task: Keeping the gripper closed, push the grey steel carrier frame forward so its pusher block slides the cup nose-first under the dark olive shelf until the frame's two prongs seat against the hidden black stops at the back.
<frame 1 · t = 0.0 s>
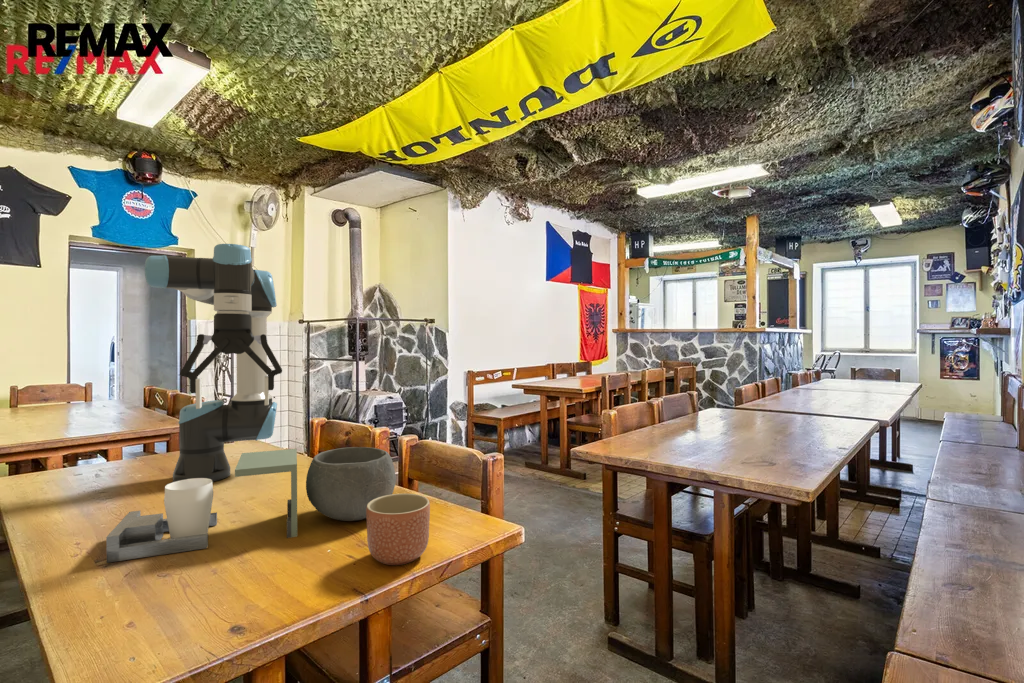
hand: (233, 406, 115), 28 cm above the table, fingers open, 13 cm apart
planter: (398, 558, 101), on the table
bowl: (352, 515, 124), on the table
cup: (189, 539, 109), on the table
shelf: (266, 528, 115), on the table
frame: (167, 529, 108), point 3 cm above the table, slide at 0.0 cm
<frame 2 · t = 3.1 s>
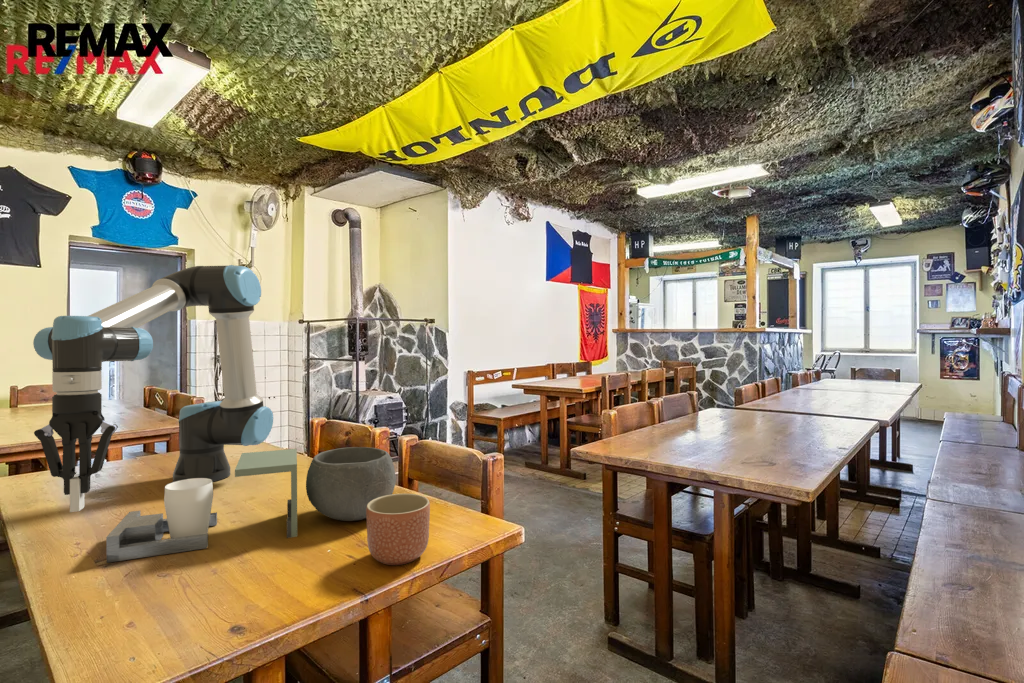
hand: (77, 509, 101), 9 cm above the table, fingers closed
nothing on the table moved.
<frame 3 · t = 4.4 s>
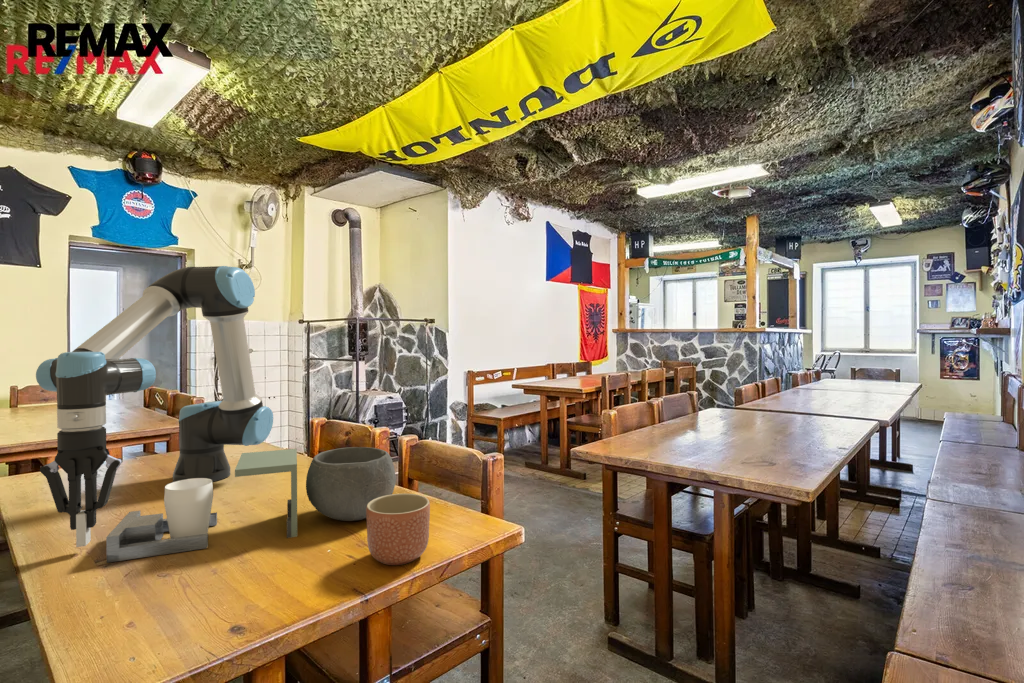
hand: (83, 543, 102), 2 cm above the table, fingers closed
nothing on the table moved.
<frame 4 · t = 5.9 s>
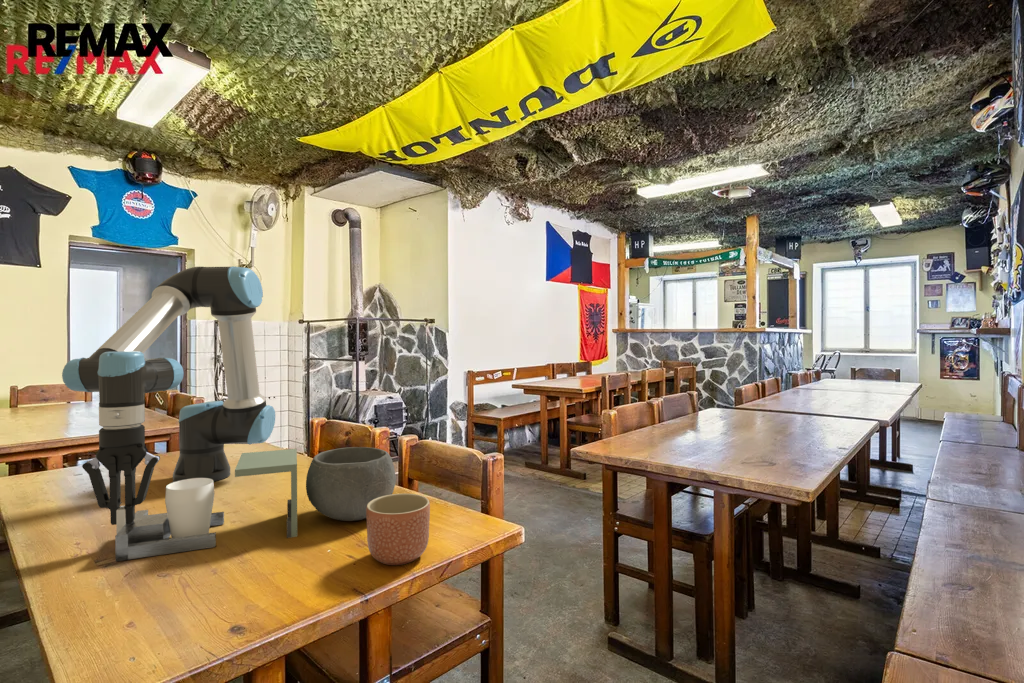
hand: (123, 538, 105), 2 cm above the table, fingers closed
cup: (190, 539, 109), on the table, touching frame
frame: (174, 528, 108), point 3 cm above the table, slide at 1.4 cm, touching cup, gripper
everything else where it was.
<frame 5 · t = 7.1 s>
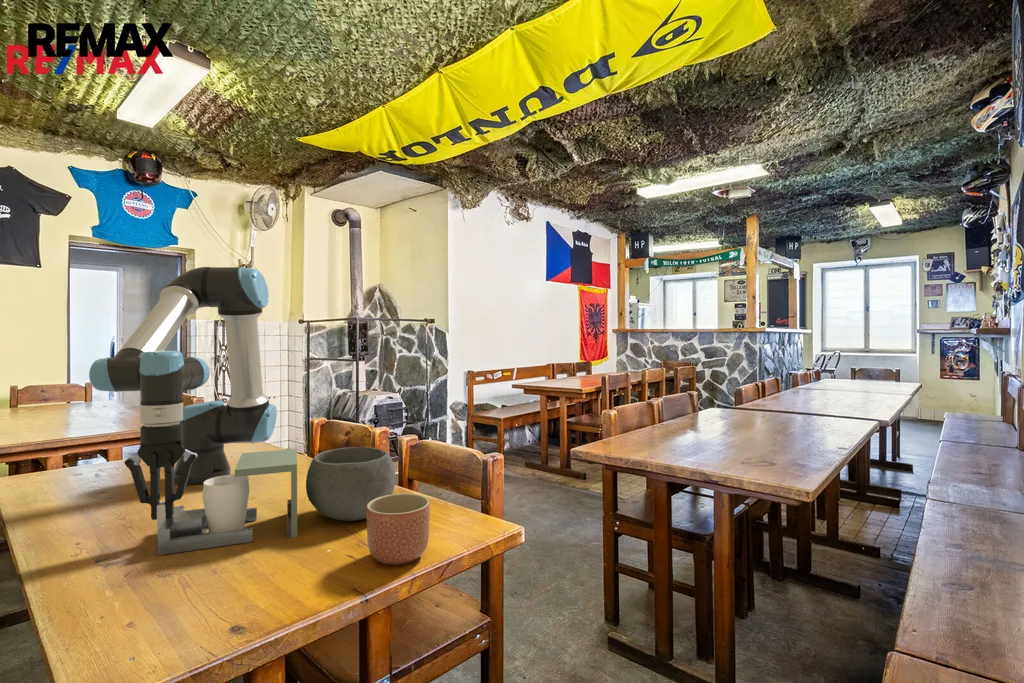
hand: (162, 533, 107), 2 cm above the table, fingers closed
cup: (226, 534, 112), on the table, touching frame
frame: (211, 523, 111), point 3 cm above the table, slide at 8.3 cm, touching cup, gripper
everything else where it was.
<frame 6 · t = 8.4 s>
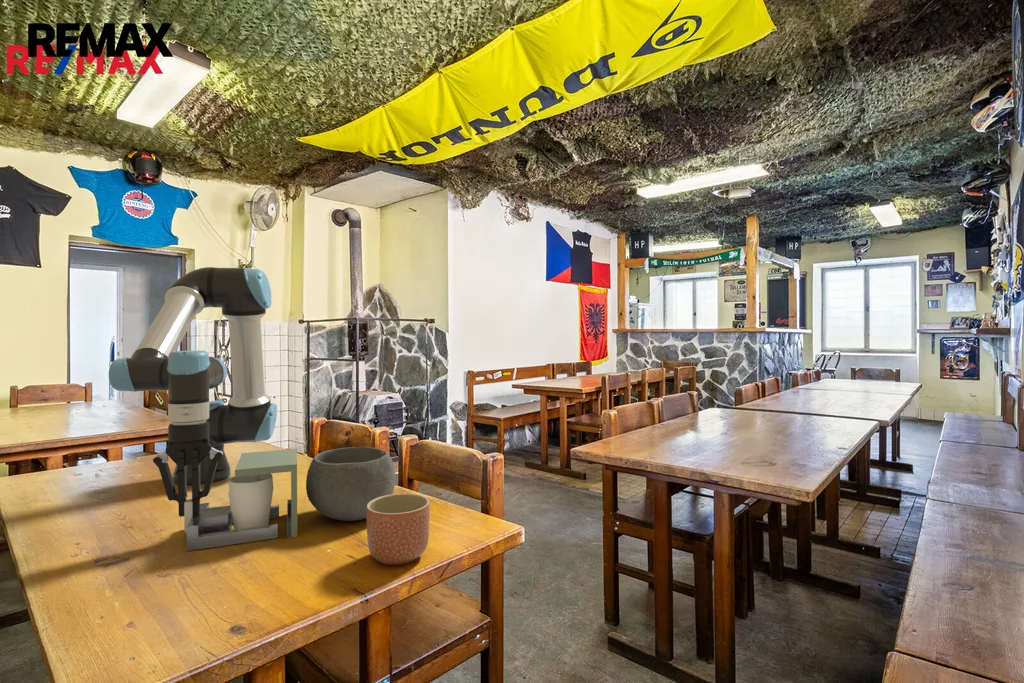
hand: (189, 529, 109), 2 cm above the table, fingers closed
cup: (251, 531, 114), on the table, touching frame
frame: (237, 520, 113), point 3 cm above the table, slide at 13.2 cm, touching cup, gripper
everything else where it was.
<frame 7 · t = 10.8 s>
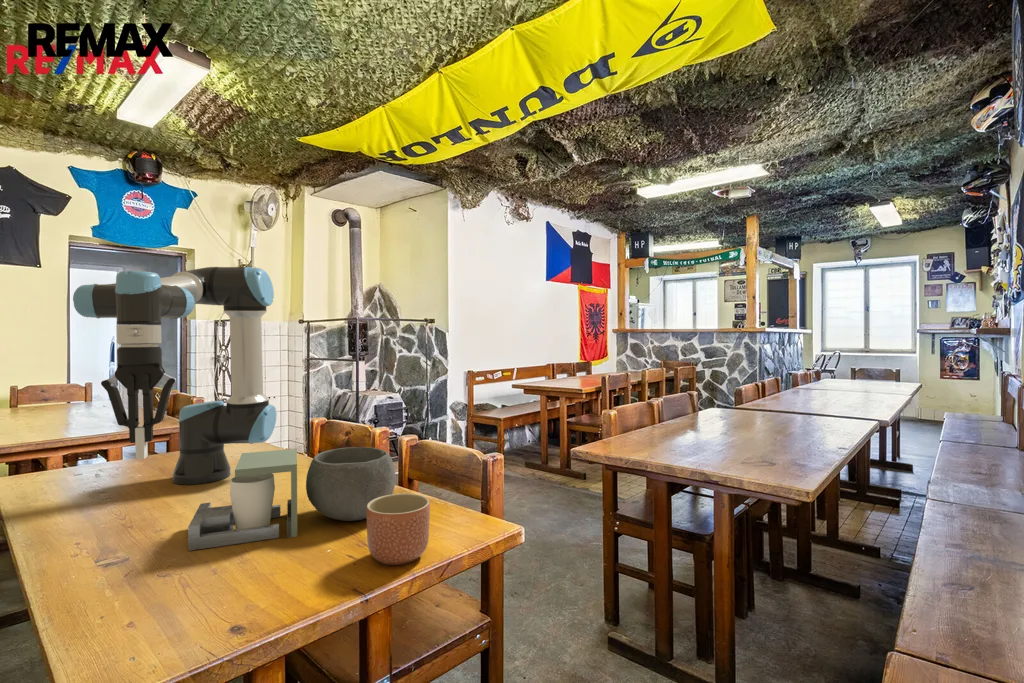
hand: (141, 457, 106), 18 cm above the table, fingers closed
frame: (238, 520, 113), point 3 cm above the table, slide at 13.5 cm, touching cup
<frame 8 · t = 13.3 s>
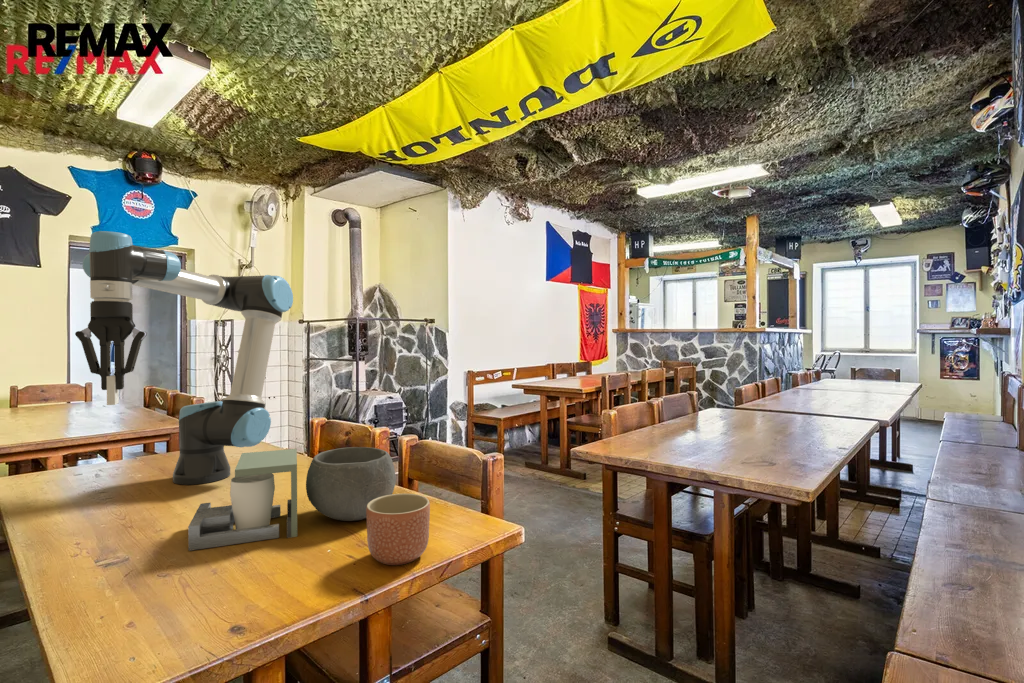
hand: (112, 404, 115), 28 cm above the table, fingers closed
nothing on the table moved.
at the end: cup inside the target area (1.7 cm from its centre), on the table; cup tilted 0°; frame slide at 13.5 cm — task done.
